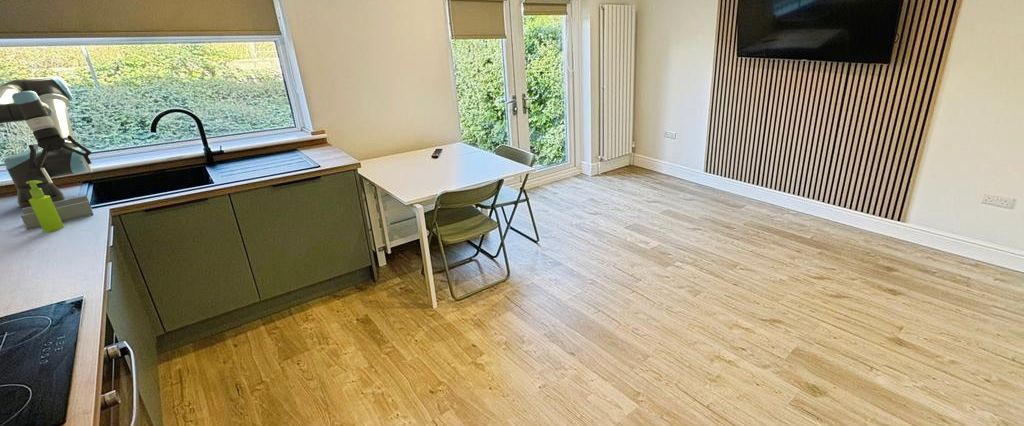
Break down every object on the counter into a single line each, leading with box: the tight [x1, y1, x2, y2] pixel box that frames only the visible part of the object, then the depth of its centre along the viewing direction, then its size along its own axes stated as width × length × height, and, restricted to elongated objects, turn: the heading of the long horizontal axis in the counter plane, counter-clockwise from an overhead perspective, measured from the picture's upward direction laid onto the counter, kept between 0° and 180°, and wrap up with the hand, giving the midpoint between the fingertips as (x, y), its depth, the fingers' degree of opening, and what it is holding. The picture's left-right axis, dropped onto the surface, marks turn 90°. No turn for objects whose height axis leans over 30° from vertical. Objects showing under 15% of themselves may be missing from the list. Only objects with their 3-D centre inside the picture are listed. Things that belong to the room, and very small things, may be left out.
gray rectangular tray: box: [20, 195, 94, 231], centre depth 188 cm, size 12×20×6 cm, turn 134°
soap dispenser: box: [26, 180, 65, 233], centre depth 174 cm, size 6×7×20 cm
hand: (71, 177), depth 193 cm, fingers open, 13 cm apart
